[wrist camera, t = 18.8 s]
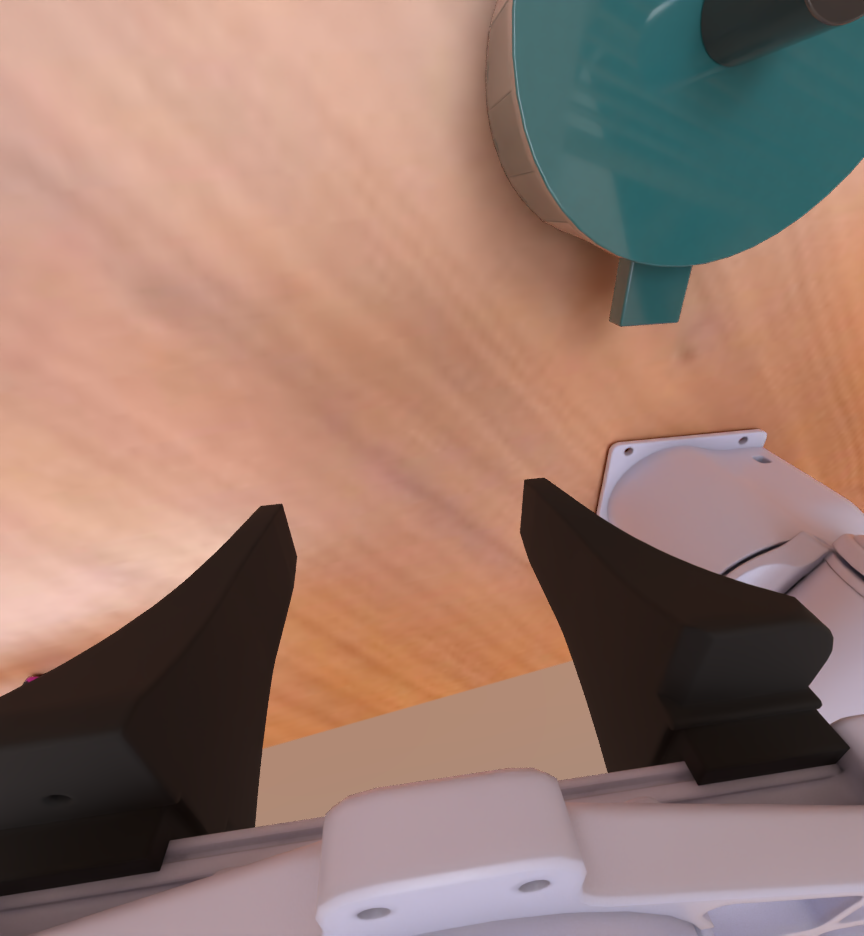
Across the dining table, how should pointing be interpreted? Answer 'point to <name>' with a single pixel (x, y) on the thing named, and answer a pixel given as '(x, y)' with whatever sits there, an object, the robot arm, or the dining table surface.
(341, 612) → the dining table surface
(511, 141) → the pot
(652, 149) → the lid
